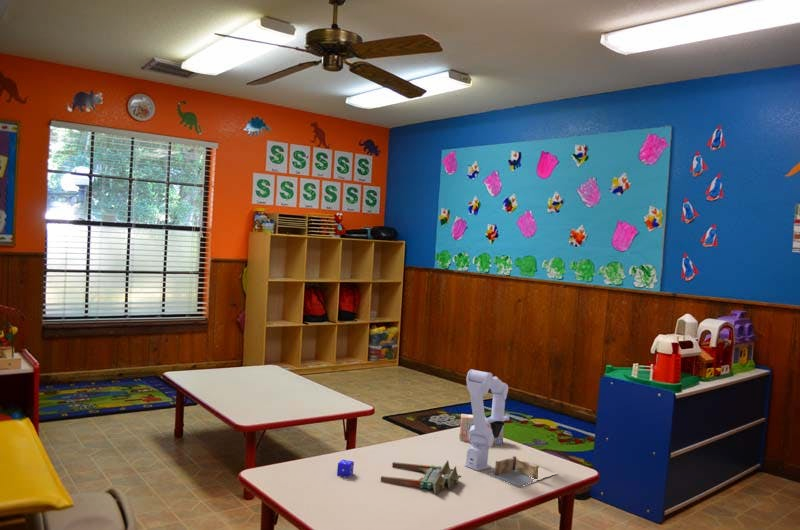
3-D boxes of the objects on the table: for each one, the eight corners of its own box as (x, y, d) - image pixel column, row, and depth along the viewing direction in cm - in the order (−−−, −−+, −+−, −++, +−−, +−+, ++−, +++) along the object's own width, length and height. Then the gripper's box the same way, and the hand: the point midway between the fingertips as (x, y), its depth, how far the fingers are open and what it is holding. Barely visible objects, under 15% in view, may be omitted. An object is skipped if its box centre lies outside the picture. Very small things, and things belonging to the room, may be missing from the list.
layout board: (519, 487, 246) (519, 486, 246) (487, 474, 257) (488, 473, 257) (556, 474, 265) (556, 472, 265) (526, 463, 277) (526, 461, 277)
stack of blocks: (501, 441, 307) (503, 417, 307) (502, 445, 301) (504, 420, 301) (458, 437, 308) (461, 413, 308) (459, 441, 302) (461, 416, 302)
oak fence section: (514, 470, 263) (515, 458, 263) (517, 469, 264) (518, 457, 264) (535, 479, 254) (536, 466, 254) (538, 478, 255) (539, 466, 255)
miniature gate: (395, 455, 263) (464, 461, 255) (395, 468, 263) (464, 475, 255) (378, 476, 236) (454, 484, 229) (377, 490, 236) (454, 499, 229)
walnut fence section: (496, 475, 255) (498, 462, 255) (493, 474, 257) (495, 461, 257) (516, 469, 265) (517, 457, 265) (513, 468, 266) (514, 456, 266)
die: (336, 475, 243) (337, 462, 243) (341, 471, 248) (342, 459, 248) (348, 477, 242) (349, 465, 241) (353, 473, 246) (354, 461, 246)
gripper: (493, 411, 273) (491, 441, 274) (515, 408, 282) (512, 437, 283) (482, 407, 279) (480, 437, 279) (503, 404, 288) (501, 433, 288)
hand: (495, 437), depth 281 cm, fingers closed
